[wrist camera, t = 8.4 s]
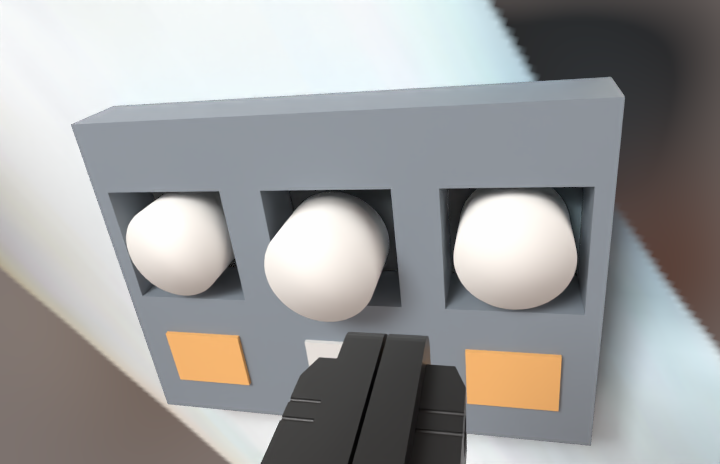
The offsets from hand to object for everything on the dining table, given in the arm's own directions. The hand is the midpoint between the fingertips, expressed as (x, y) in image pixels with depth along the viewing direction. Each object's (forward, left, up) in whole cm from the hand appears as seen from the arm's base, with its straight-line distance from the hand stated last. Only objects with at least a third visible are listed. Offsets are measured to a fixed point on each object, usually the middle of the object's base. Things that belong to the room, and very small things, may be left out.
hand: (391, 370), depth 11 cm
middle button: (-5, -4, -13) cm, 15 cm away
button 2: (+2, -4, -14) cm, 15 cm away
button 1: (-13, -4, -15) cm, 20 cm away
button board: (-5, -6, -15) cm, 17 cm away
